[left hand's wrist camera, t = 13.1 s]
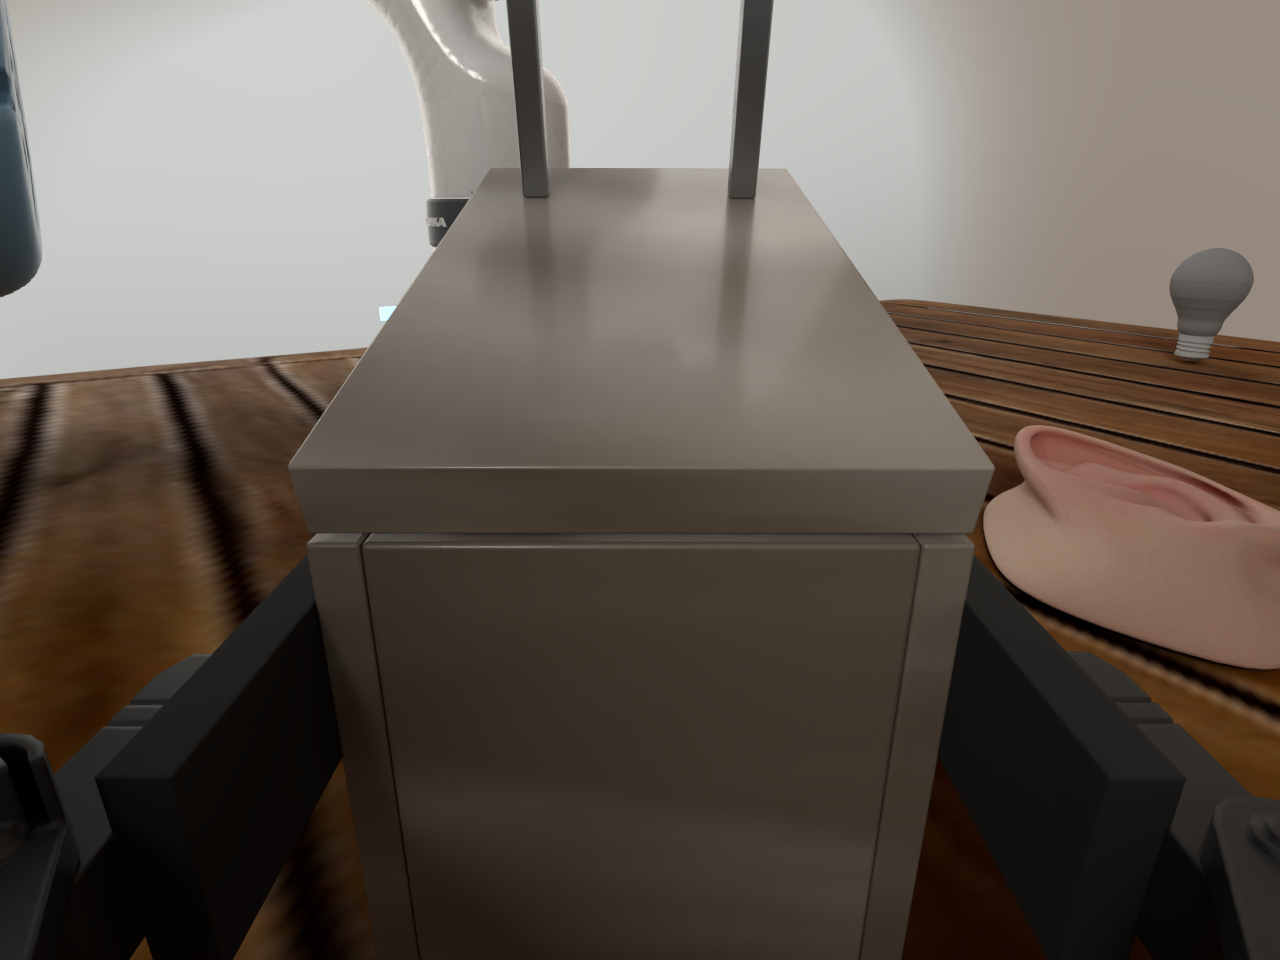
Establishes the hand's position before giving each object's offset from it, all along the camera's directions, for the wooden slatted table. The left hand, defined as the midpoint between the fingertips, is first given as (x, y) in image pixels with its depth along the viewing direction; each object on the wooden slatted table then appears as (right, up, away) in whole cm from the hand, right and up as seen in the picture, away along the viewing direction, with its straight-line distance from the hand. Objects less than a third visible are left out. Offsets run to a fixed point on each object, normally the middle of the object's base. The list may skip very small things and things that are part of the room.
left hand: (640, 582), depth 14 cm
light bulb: (+52, +13, +55) cm, 77 cm away
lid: (0, +6, +3) cm, 7 cm away
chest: (0, -5, +7) cm, 9 cm away
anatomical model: (+20, -2, +16) cm, 25 cm away
